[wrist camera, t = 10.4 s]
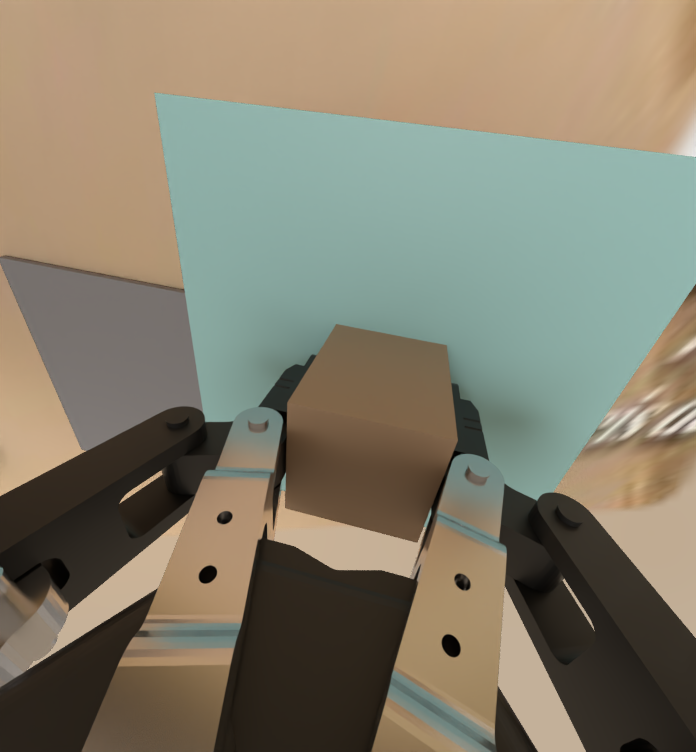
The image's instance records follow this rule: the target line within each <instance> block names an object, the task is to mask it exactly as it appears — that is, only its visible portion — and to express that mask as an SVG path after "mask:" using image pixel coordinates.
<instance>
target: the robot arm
mask: <svg viewBox="0 0 696 752" xmlns="http://www.w3.org/2000/svg"><path fill="white" fill-rule="evenodd" d="M316 356H317V355H314V354H312V355H311V356H310V358H309V359H308V361H307V362H306V364H305V365H304V366H303V365H298V364H295V365H293V366H291V367H290V368H288V369H286V370H285V371H284V372H283V374H282V375H281V376H280V378H279V379H278V380H277V382H276V383H275V386H273V387H272V389H271V390H270V391H269V393H268V394H267V395H266V397H265V398H264V399H263V401H262V402H261V403H260V405H259V406H258V407H254V408H250V409H247V410H244V411H242V412H241V413H239V414H238V415H237V416H236V417H235V419H234V421H230V422H205V416H204V414H203V412H202V411H200V410H199V409H197V408H194V407H189V406H180V407H174V408H170V409H167V410H165V411H163V412H161V413H159V414H157V415H155V416H153V417H151V418H149V419H147V420H145V421H143V422H141V423H140V424H138V425H136V426H134V427H132V428H130V429H128V430H126V431H124V432H122V433H120V434H118V435H117V436H115V437H113V438H111V439H109V440H107V441H105V442H103V443H101V444H99V445H97V446H95V447H94V448H92V449H90V450H88V451H86V452H84V453H82V454H80V455H78V456H76V457H74V458H73V459H71V460H69V461H67V462H65V463H63V464H61V465H59V466H57V467H55V468H53V469H51V470H50V471H48V472H46V473H44V474H42V475H40V476H38V477H36V478H34V479H32V480H30V481H28V482H27V483H25V484H23V485H21V486H19V487H17V488H15V489H13V490H11V491H9V492H7V493H6V494H4V495H2V496H0V752H538V751H537V750H536V748H535V746H534V745H533V743H532V742H531V740H530V738H529V736H528V735H527V733H526V731H525V730H524V728H523V726H522V725H521V723H520V721H519V720H518V718H517V717H516V715H515V713H514V712H513V710H512V708H511V707H510V705H509V703H508V702H507V700H506V698H505V697H504V695H503V694H502V692H501V690H500V689H499V687H498V674H499V659H500V644H501V631H502V617H503V602H504V588H505V587H506V589H507V591H508V593H509V595H510V597H511V599H512V601H513V603H514V605H515V607H516V609H517V611H518V613H519V615H520V618H521V620H522V621H523V624H524V626H525V628H526V630H527V632H528V634H529V636H530V638H531V640H532V642H533V644H534V646H535V648H536V650H537V652H538V654H539V656H540V658H541V660H542V662H543V665H544V667H545V669H546V671H547V673H548V674H549V677H550V679H551V681H552V683H553V685H554V687H555V689H556V691H557V693H558V695H559V697H560V699H561V701H562V703H563V705H564V707H565V709H566V711H567V713H568V715H569V717H570V720H571V722H572V724H573V726H574V728H575V729H576V732H577V734H578V736H579V738H580V740H581V742H582V744H583V746H584V748H585V750H586V752H696V638H695V637H694V636H693V634H692V633H691V632H690V631H689V630H688V629H687V627H686V626H685V625H684V624H683V623H682V621H681V620H680V619H679V618H678V617H677V615H676V614H675V613H674V612H673V611H672V609H671V608H670V607H669V606H668V605H667V603H666V602H665V601H664V600H663V599H662V597H661V596H660V595H659V594H658V593H657V592H656V590H655V589H654V588H653V587H652V586H651V584H650V583H649V582H648V581H647V580H646V578H645V577H644V576H643V575H642V574H641V572H640V571H639V570H638V569H637V567H636V566H635V565H634V564H633V563H632V562H631V560H630V559H629V558H628V557H627V556H626V554H625V553H624V552H623V551H622V550H621V549H620V547H619V546H618V545H617V544H616V542H615V541H614V540H613V539H612V538H611V536H610V535H609V534H608V533H607V532H606V530H605V529H604V528H603V527H602V526H601V524H600V523H599V522H598V521H597V520H596V519H595V517H594V516H593V515H592V514H591V513H590V512H589V511H588V510H587V509H586V508H585V507H584V506H583V505H581V504H580V503H579V502H577V501H575V500H574V499H572V498H570V497H568V496H565V495H562V494H559V493H552V492H549V493H544V494H542V495H541V496H540V497H539V498H538V500H535V499H533V498H531V497H529V496H526V495H524V494H522V493H520V492H518V491H516V490H514V489H512V488H511V487H509V486H508V485H506V484H505V483H504V477H503V475H502V473H501V472H500V470H499V469H498V468H497V467H496V466H495V465H494V464H493V463H491V462H490V461H489V457H488V453H487V448H486V444H485V439H484V434H483V432H482V425H481V423H480V422H481V421H480V416H479V411H478V410H477V409H476V407H475V406H474V405H473V403H472V402H471V401H469V400H464V399H460V392H459V386H458V384H455V383H451V386H452V394H453V403H454V412H455V420H456V429H457V438H458V442H457V444H456V447H455V449H454V452H453V454H452V457H451V459H450V462H449V464H448V467H447V469H446V472H445V474H444V477H443V479H442V482H441V484H440V487H439V489H438V492H437V494H436V497H435V499H434V502H433V504H432V507H431V515H430V518H429V520H428V523H427V526H426V529H425V532H424V536H423V539H422V542H421V545H420V548H419V551H418V555H417V557H416V561H415V564H414V567H413V570H412V573H411V576H410V578H407V577H404V576H400V575H396V574H393V573H389V572H385V571H382V570H378V571H377V570H371V571H369V570H367V571H365V570H364V571H363V570H362V571H361V570H348V571H347V570H334V569H332V568H330V567H328V566H327V565H325V564H323V563H322V562H320V561H318V560H317V559H315V558H313V557H311V556H310V555H308V554H306V553H305V552H303V551H301V550H300V549H298V548H296V547H294V546H291V545H287V544H283V543H279V542H275V541H274V537H275V530H276V523H277V516H278V509H279V503H280V496H281V489H282V479H283V478H284V475H285V473H286V444H287V402H288V401H289V399H290V397H291V396H292V394H293V393H294V391H295V389H296V388H297V386H298V385H299V383H300V381H301V380H302V378H303V377H304V375H305V373H306V372H307V370H308V369H309V367H310V365H311V364H312V362H313V361H314V359H315V357H316ZM161 470H162V474H163V475H161V476H160V477H158V478H157V479H156V480H154V481H153V482H151V483H150V484H148V485H147V486H145V487H144V488H142V489H141V490H139V491H138V492H136V493H135V494H133V495H132V496H130V497H129V498H127V499H126V500H125V501H123V502H122V503H120V501H121V499H122V498H123V497H124V496H125V495H126V494H127V493H128V492H129V491H131V490H132V489H134V488H135V487H137V486H138V485H140V484H141V483H143V482H144V481H146V480H147V479H149V478H150V477H152V476H153V475H155V474H156V473H158V472H159V471H161ZM119 503H120V504H119ZM187 514H188V516H187V518H186V521H185V523H184V525H183V528H182V530H181V533H180V535H179V538H178V540H177V543H176V545H175V548H174V550H173V553H172V555H171V558H170V560H169V563H168V565H167V568H166V570H165V572H164V575H163V577H162V580H161V582H160V585H159V587H158V588H157V589H156V590H154V591H153V592H151V593H149V594H148V595H146V596H145V597H143V598H141V599H140V600H138V601H137V602H135V603H134V604H132V605H130V606H129V607H127V608H126V609H124V610H123V611H121V612H119V613H118V614H116V615H114V616H113V617H111V618H110V619H108V620H106V621H105V622H104V623H102V624H100V625H98V626H97V627H95V628H94V629H92V630H91V631H89V632H87V633H86V634H84V635H83V636H81V637H79V638H78V639H76V640H75V641H73V642H72V643H70V644H68V645H67V646H65V647H64V648H62V649H60V650H59V651H57V652H56V653H54V654H52V655H51V656H49V657H48V658H46V659H44V660H43V661H41V662H40V663H38V664H37V665H35V666H33V667H32V668H30V669H28V668H29V666H30V665H31V664H32V663H33V661H36V660H39V659H40V658H42V657H44V656H45V655H46V654H47V653H48V652H49V651H50V650H51V649H52V648H53V646H54V645H55V643H56V641H57V637H58V634H59V632H60V631H61V629H62V627H63V625H64V623H65V621H66V618H67V616H68V612H69V611H70V610H71V609H72V608H73V607H75V606H76V605H77V604H78V603H80V602H81V601H82V600H83V599H84V598H86V597H87V596H88V595H89V594H90V593H92V592H93V591H94V590H95V589H97V588H98V587H99V586H100V585H101V584H103V583H104V582H105V581H106V580H108V579H109V578H110V577H111V576H112V575H113V574H115V573H116V572H117V571H118V570H120V569H121V568H122V567H123V566H124V565H126V564H127V563H128V562H129V561H131V560H132V559H133V558H134V557H135V556H137V555H138V554H139V553H140V552H141V551H143V550H144V549H145V548H146V547H148V546H149V545H150V544H151V543H153V542H154V541H155V540H156V539H157V538H159V537H160V536H161V535H162V534H163V533H165V532H166V531H167V530H168V529H170V528H171V527H172V526H173V525H174V524H176V523H177V522H178V521H179V520H180V519H182V518H183V517H184V516H185V515H187ZM564 578H565V580H566V582H567V583H568V585H569V586H570V588H571V589H572V591H573V592H574V594H575V596H576V597H577V599H578V600H579V602H580V603H581V605H582V607H583V608H584V609H585V611H586V613H587V614H588V616H589V618H590V619H591V621H592V624H593V626H594V630H595V631H594V630H593V628H592V627H591V625H590V623H589V622H588V620H587V619H586V617H585V616H584V614H583V612H582V611H581V609H580V608H579V606H578V605H577V603H576V602H575V600H574V598H573V597H572V595H571V593H570V592H569V590H568V589H567V587H566V586H565V584H564V582H563V581H562V580H563V579H564ZM27 669H28V670H27Z"/></svg>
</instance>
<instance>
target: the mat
mask: <svg viewBox="0 0 696 752" xmlns="http://www.w3.org/2000/svg"><path fill="white" fill-rule="evenodd" d="M0 264H1V266H2V269H3V271H4V273H5V275H6V278H7V280H8V282H9V285H10V287H11V289H12V291H13V294H14V296H15V298H16V301H17V303H18V305H19V307H20V310H21V312H22V314H23V317H24V319H25V321H26V323H27V326H28V328H29V330H30V333H31V335H32V337H33V339H34V342H35V344H36V346H37V349H38V351H39V353H40V355H41V358H42V360H43V362H44V365H45V367H46V369H47V371H48V374H49V376H50V378H51V381H52V383H53V385H54V387H55V390H56V392H57V394H58V397H59V399H60V401H61V403H62V406H63V408H64V410H65V413H66V415H67V417H68V419H69V422H70V424H71V426H72V429H73V431H74V433H75V435H76V438H77V440H78V442H79V445H80V447H81V449H82V450H86V451H88V450H90V449H92V448H94V447H95V446H97V445H99V444H101V443H103V442H105V441H107V440H109V439H111V438H113V437H115V436H117V435H118V434H120V433H122V432H124V431H126V430H128V429H130V428H132V427H134V426H136V425H138V424H140V423H141V422H143V421H145V420H147V419H149V418H151V417H153V416H155V415H157V414H159V413H161V412H163V411H165V410H167V409H170V408H174V407H180V406H189V407H194V408H197V409H199V410H200V411H202V412H203V408H202V401H201V395H200V388H199V382H198V375H197V368H196V362H195V355H194V349H193V342H192V336H191V329H190V323H189V316H188V310H187V303H186V296H185V290H182V289H177V288H171V287H166V286H161V285H156V284H150V283H145V282H140V281H135V280H129V279H124V278H119V277H114V276H109V275H103V274H98V273H93V272H88V271H82V270H77V269H72V268H67V267H61V266H56V265H51V264H46V263H41V262H35V261H30V260H25V259H20V258H14V257H9V256H2V257H0Z"/></svg>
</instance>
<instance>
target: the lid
mask: <svg viewBox="0 0 696 752" xmlns="http://www.w3.org/2000/svg"><path fill="white" fill-rule="evenodd" d="M155 100H156V107H157V113H158V120H159V126H160V133H161V139H162V146H163V152H164V159H165V165H166V172H167V179H168V185H169V192H170V198H171V205H172V211H173V218H174V224H175V231H176V238H177V244H178V251H179V257H180V264H181V270H182V277H183V283H184V290H185V296H186V303H187V310H188V316H189V323H190V329H191V336H192V342H193V349H194V355H195V362H196V368H197V375H198V382H199V388H200V395H201V401H202V408H203V414H204V416H205V422H230V421H234V419H235V417H236V416H237V415H238V414H239V413H241V412H242V411H244V410H247V409H250V408H254V407H258V406H259V405H260V403H261V402H262V401H263V399H264V398H265V397H266V395H267V394H268V393H269V391H270V390H271V389H272V387H273V386H275V383H276V382H277V380H278V379H279V378H280V376H281V375H282V374H283V372H284V371H285V370H286V369H288V368H290V367H291V366H293V365H295V364H298V365H303V366H304V365H305V364H306V362H307V361H308V359H309V358H310V356H311V355H312V354H314V355H317V356H316V357H315V359H314V361H313V362H312V364H311V365H310V367H309V369H308V370H307V372H306V373H305V375H304V377H303V378H302V380H301V381H300V383H299V385H298V386H297V388H296V389H295V391H294V393H293V394H292V396H291V397H290V399H289V401H288V402H287V444H286V473H285V475H284V478H283V479H282V489H281V490H283V491H286V492H285V508H287V509H291V510H294V511H298V512H302V513H306V514H310V515H313V516H317V517H321V518H325V519H329V520H333V521H336V522H340V523H344V524H348V525H352V526H356V527H359V528H363V529H367V530H371V531H375V532H379V533H382V534H386V535H390V536H394V537H398V538H402V539H405V540H409V541H413V542H418V540H419V537H420V534H421V532H422V530H423V527H426V526H427V523H428V520H429V518H430V515H431V507H432V504H433V502H434V499H435V497H436V494H437V492H438V489H439V487H440V484H441V482H442V479H443V477H444V474H445V472H446V469H447V467H448V464H449V462H450V459H451V457H452V454H453V452H454V449H455V447H456V444H457V442H458V438H457V429H456V420H455V412H454V403H453V394H452V386H451V383H455V384H458V386H459V392H460V399H464V400H469V401H471V402H472V403H473V405H474V406H475V407H476V409H477V410H478V411H479V416H480V421H481V422H480V423H481V425H482V432H483V434H484V439H485V444H486V448H487V453H488V457H489V461H490V462H491V463H493V464H494V465H495V466H496V467H497V468H498V469H499V470H500V472H501V473H502V475H503V477H504V483H505V484H506V485H508V486H509V487H511V488H512V489H514V490H516V491H518V492H520V493H522V494H524V495H526V496H529V497H531V498H533V499H535V500H538V498H539V497H540V496H541V495H542V494H544V493H549V492H552V493H553V491H554V490H555V489H556V487H557V486H558V484H559V483H560V481H561V480H562V478H563V477H564V475H565V474H566V472H567V471H568V470H569V468H570V467H571V465H572V464H573V462H574V461H575V459H576V458H577V456H578V455H579V453H580V452H581V451H582V449H583V448H584V446H585V445H586V443H587V442H588V440H589V439H590V437H591V436H592V434H593V433H594V432H595V430H596V429H597V427H598V426H599V424H600V423H601V421H602V420H603V418H604V417H605V415H606V414H607V413H608V411H609V410H610V408H611V407H612V405H613V404H614V402H615V401H616V399H617V398H618V396H619V395H620V394H621V392H622V391H623V389H624V388H625V386H626V385H627V383H628V382H629V380H630V379H631V377H632V376H633V375H634V373H635V372H636V370H637V369H638V367H639V366H640V364H641V363H642V361H643V360H644V358H645V357H646V356H647V354H648V353H649V351H650V350H651V348H652V347H653V345H654V344H655V342H656V341H657V339H658V338H659V337H660V335H661V334H662V332H663V331H664V329H665V328H666V326H667V325H668V323H669V322H670V320H671V319H672V318H673V316H674V315H675V313H676V312H677V310H678V309H679V307H680V306H681V304H682V303H683V301H684V300H685V299H686V297H687V296H688V294H689V293H690V291H691V290H692V288H693V287H694V285H695V284H696V157H691V156H683V155H674V154H666V153H657V152H649V151H641V150H632V149H624V148H615V147H607V146H598V145H590V144H582V143H573V142H565V141H556V140H548V139H540V138H531V137H523V136H514V135H506V134H497V133H489V132H481V131H472V130H464V129H455V128H447V127H439V126H430V125H422V124H413V123H405V122H397V121H388V120H380V119H371V118H363V117H354V116H346V115H338V114H329V113H321V112H312V111H304V110H296V109H287V108H279V107H270V106H262V105H253V104H245V103H237V102H228V101H220V100H211V99H203V98H195V97H186V96H178V95H169V94H161V93H155Z"/></svg>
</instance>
